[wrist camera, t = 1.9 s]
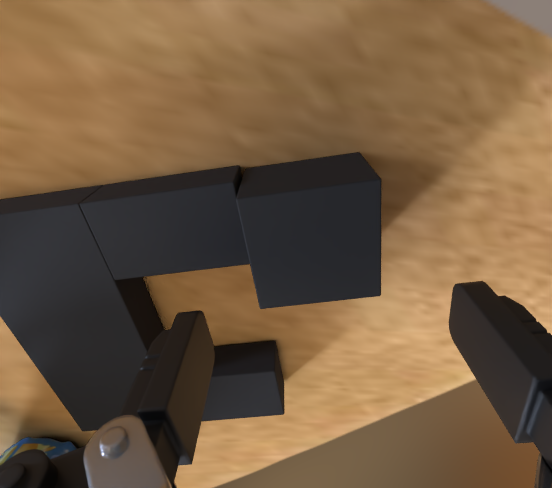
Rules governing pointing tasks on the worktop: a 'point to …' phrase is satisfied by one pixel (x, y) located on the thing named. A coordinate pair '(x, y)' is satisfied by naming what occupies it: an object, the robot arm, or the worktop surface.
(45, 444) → the snack cup
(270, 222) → the small block
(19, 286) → the base pad
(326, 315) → the worktop surface
